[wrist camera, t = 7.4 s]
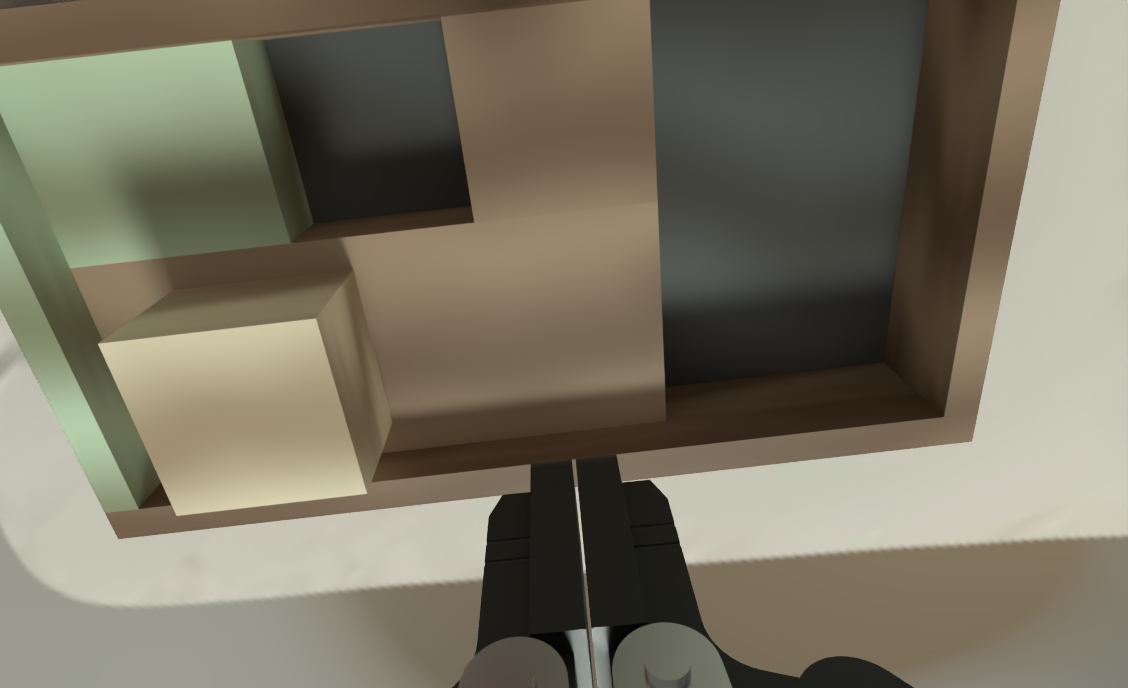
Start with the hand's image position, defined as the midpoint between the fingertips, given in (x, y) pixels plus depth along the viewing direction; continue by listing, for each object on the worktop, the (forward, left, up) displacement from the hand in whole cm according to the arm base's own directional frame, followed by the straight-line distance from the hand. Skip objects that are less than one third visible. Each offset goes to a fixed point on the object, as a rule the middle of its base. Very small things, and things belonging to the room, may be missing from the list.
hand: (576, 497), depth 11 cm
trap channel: (-2, -1, -11) cm, 11 cm away
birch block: (0, -8, -8) cm, 11 cm away
